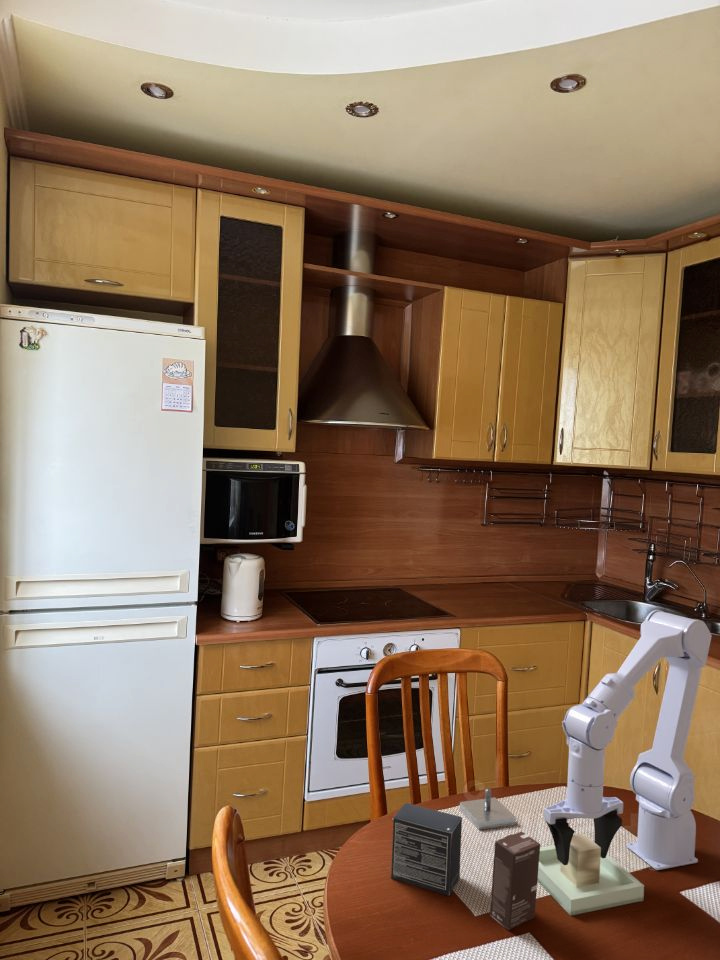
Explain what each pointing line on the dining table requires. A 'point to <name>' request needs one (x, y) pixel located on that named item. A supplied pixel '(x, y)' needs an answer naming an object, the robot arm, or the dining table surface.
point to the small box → (426, 848)
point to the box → (514, 880)
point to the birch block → (582, 861)
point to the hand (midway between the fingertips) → (581, 858)
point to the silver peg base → (487, 812)
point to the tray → (576, 900)
